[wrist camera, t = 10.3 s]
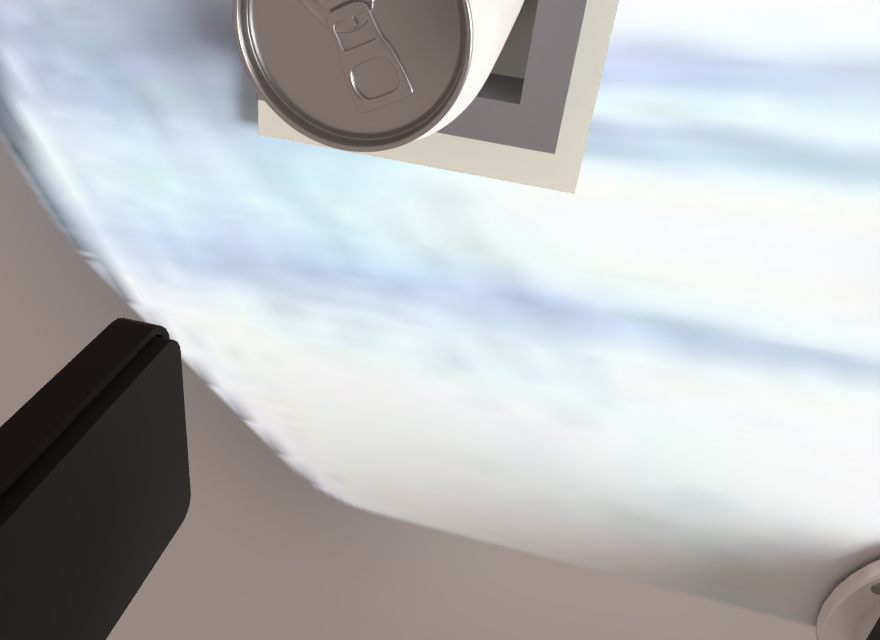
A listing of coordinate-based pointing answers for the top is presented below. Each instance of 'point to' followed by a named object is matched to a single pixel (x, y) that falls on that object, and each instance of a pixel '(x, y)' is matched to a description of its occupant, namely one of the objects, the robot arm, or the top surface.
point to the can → (370, 63)
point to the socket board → (517, 102)
